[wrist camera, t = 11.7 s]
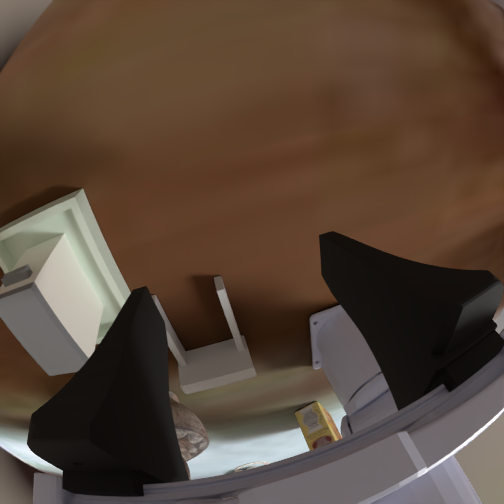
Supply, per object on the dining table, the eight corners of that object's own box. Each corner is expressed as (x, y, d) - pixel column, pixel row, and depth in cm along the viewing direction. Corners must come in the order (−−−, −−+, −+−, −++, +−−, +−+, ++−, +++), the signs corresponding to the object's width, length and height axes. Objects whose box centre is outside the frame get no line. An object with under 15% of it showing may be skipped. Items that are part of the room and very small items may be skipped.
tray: (144, 318, 24) (144, 332, 22) (64, 338, 23) (60, 352, 21) (82, 188, 17) (75, 196, 16) (-4, 229, 16) (-14, 240, 15)
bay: (246, 344, 28) (256, 375, 25) (182, 362, 27) (185, 394, 24) (224, 274, 23) (233, 306, 20) (145, 297, 23) (143, 331, 19)
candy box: (292, 412, 39) (327, 498, 26) (317, 399, 38) (357, 485, 25) (311, 425, 43) (342, 497, 30) (332, 414, 43) (367, 485, 30)
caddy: (103, 306, 21) (91, 369, 16) (67, 316, 21) (49, 375, 15) (61, 226, 17) (25, 279, 12) (23, 242, 17) (-15, 294, 11)
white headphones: (229, 473, 52) (233, 488, 48) (231, 464, 48) (235, 480, 44) (266, 467, 54) (271, 481, 50) (271, 457, 50) (277, 472, 47)
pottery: (66, 431, 31) (62, 496, 21) (136, 358, 26) (137, 469, 16) (127, 451, 37) (131, 512, 27) (220, 391, 32) (242, 482, 22)
